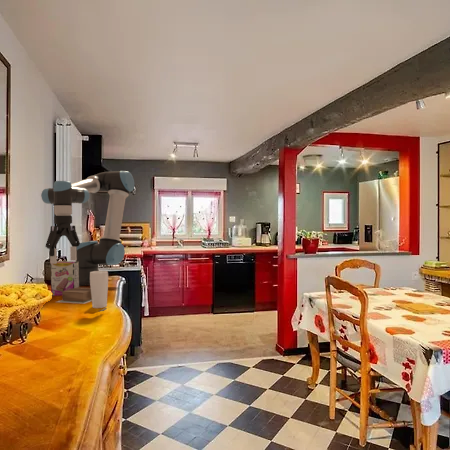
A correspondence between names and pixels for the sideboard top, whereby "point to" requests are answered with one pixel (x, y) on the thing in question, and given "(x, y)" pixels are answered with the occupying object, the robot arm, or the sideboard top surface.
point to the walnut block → (77, 294)
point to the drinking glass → (99, 288)
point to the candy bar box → (64, 276)
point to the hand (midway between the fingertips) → (63, 262)
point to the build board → (75, 302)
